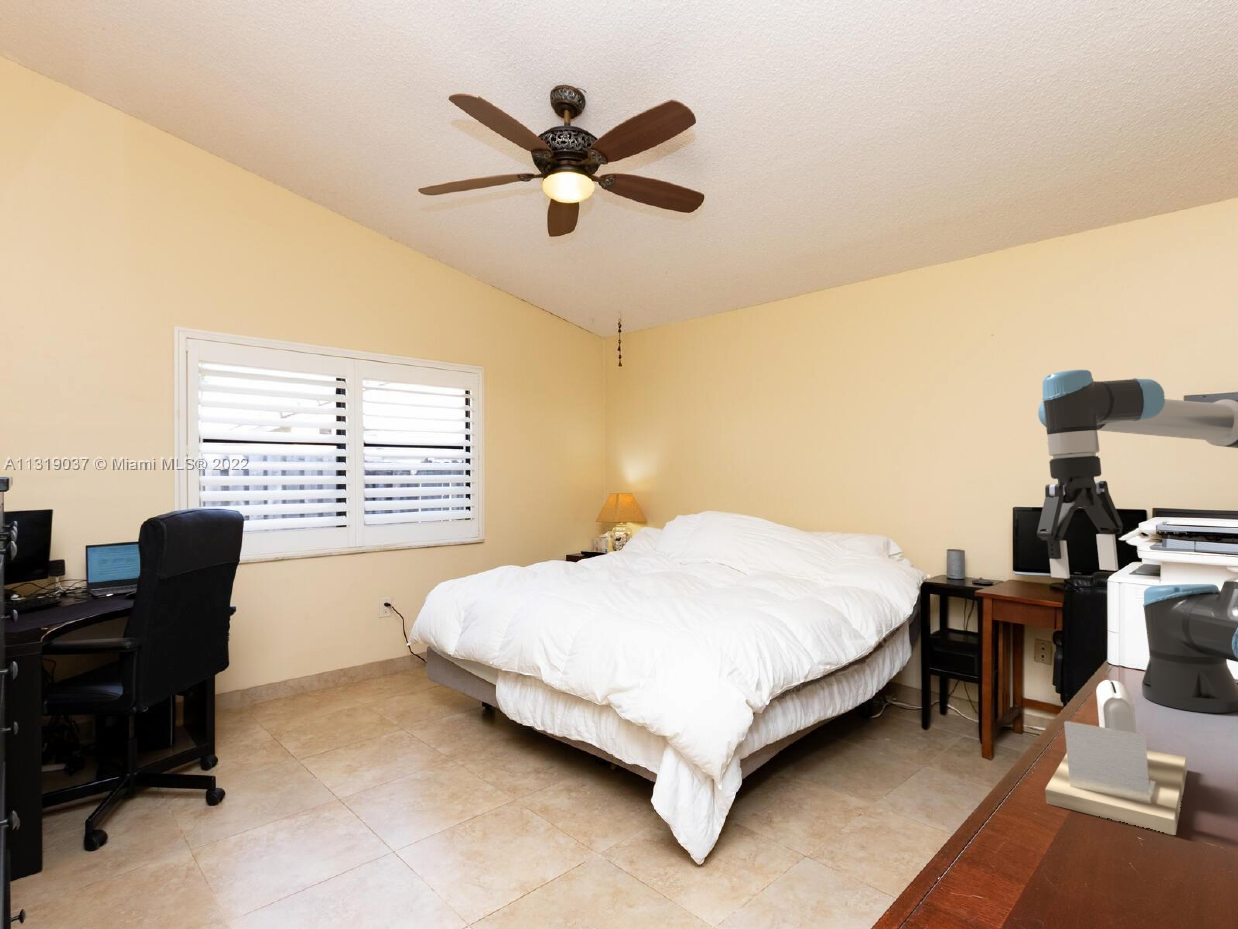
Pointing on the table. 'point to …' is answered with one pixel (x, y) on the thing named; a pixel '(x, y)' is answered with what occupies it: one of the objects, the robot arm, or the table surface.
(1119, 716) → the photo printer
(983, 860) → the table surface
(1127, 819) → the shelf board
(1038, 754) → the table surface
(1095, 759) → the bookend
